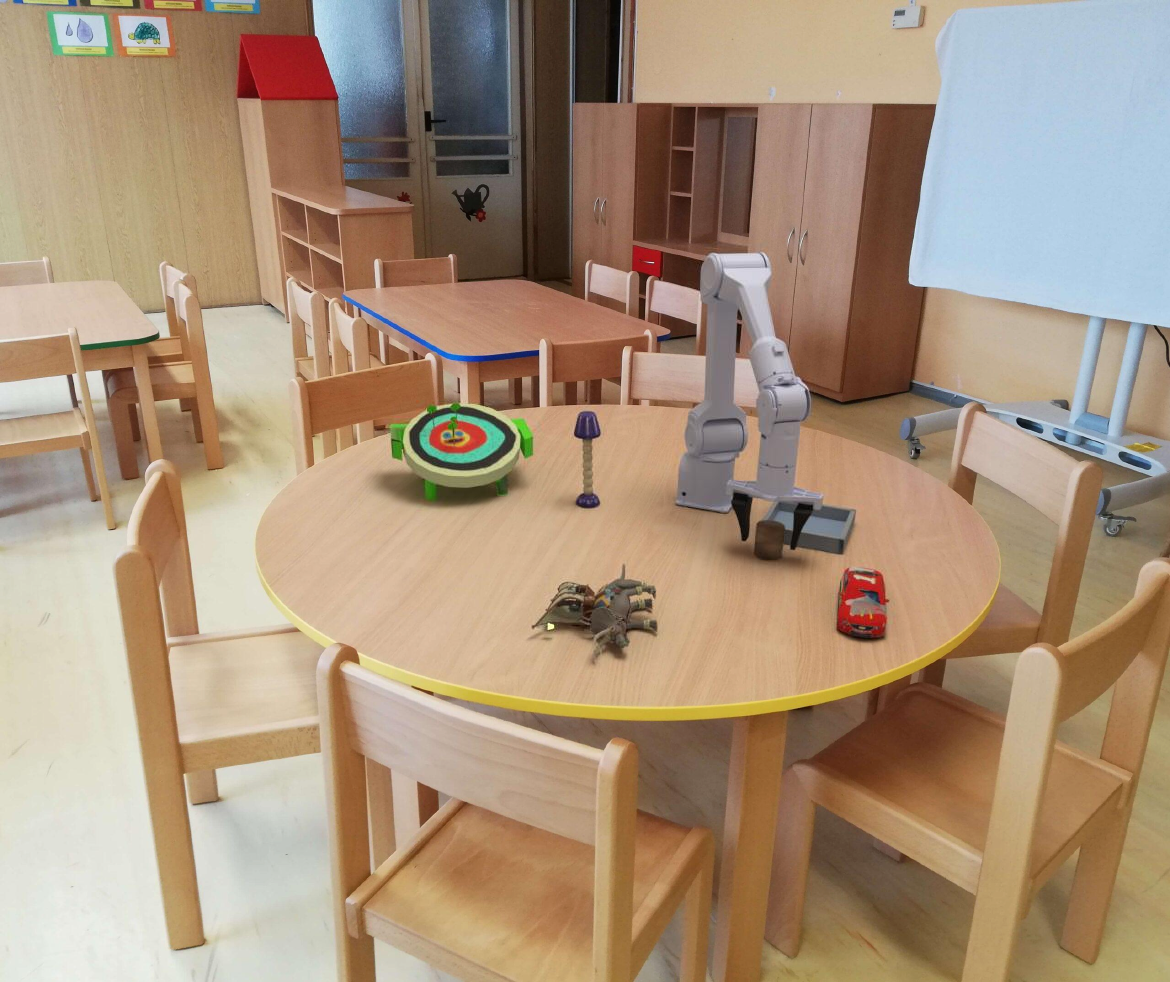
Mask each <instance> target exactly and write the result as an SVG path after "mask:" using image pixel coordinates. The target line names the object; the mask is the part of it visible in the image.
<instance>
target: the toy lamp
mask: <svg viewBox="0 0 1170 982" xmlns="http://www.w3.org/2000/svg"><path fill="white" fill-rule="evenodd" d="M601 435H602V432H601V428H600V424H599V420H598V417H597V414H596V412H595V411H592V410H591V411H590V410H584V411H581V412H579V413H578V414H577V418H576V422H575V426H574V431H573V436H574V437H575V438H577V439H579V440H581V441H582V444H583V445H582V452H583V453H582V460H583V461H582V468H583V470H582V476H583V478H582V479H583V480H582V484H583V488H582V489H583V490H582V491H583V493H580V494H579V495H578V496H577V498H576V501H575V505H577V506H578V507H581V508H584V509H592V508H596V507H599V506H600V504H601V501H600V498H599V496H598V495H597V494H595V493H594V488H593V487H594V486H593V484H594V480H593V475H594V472H593V466H594V465H593V461H592V460H593V445H592V444H593V440H595V439H598V438H599V437H600V436H601Z"/></svg>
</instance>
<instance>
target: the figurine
mask: <svg viewBox="0 0 1170 982" xmlns="http://www.w3.org/2000/svg"><path fill="white" fill-rule="evenodd" d="M621 570H622V572H621V576H620V578H617V579H614V580H613V581H612V582H609V583H608V582H607V583H606V584H604V585H603V586H601V588H600V589H599V590H598V591H597V593H595V591H594V590H593V589H592V588H591V587H590V586H589V583H587V585H586V584H580V583H576V582H572V581H565V582H561V584H560V585H558V587H557V591H558V592H557V593H556V594H555V595H554V597H553V598H552V599H550V602H551V603H549V605H548V607H547V608H546V609H545V612H544V613H543V615H542V616H541V617H540V618H539V619H538V620H537V622H536V623H535V624H532V625H531V629H532V630H534V629H535V628H546V631H549V630H553V629H555V628H556V627H557V625H564V626H565V625H566V626H573V627H578V626H583V628H582V631H583V632H584V630H585V628H586V627H585V626H586V625H587V626H590V627H589V629H590V631H591V633H592V634H594V636H593V643H594V645H596V647H595V648H594V650H593V653H592V658H593V662H594V663H595V662H596V661H597V660H599V659H600V658H601V657H602V655H603V654H602V653H603V652H602V650H601V648H602V647H603V646H604V645H605V644H606V643H607V642H609V643H610V644H614V643H615V644H616V645H617V646H618V647H619V648H622V649H623V648H626V647H628V646H629V645H630V639H629V637H628V635H627V632H626V631H627V630H630V629H641V628H644V629H647V630H649V629H652V630H654V631H655V633H659V632H658V630H659V629H658V628H659V626H658V621H657V619H649V618H647V619H646V620H643V621H640V620H639V621H638V620H637V621H635V620H634V621H633V620H630V619H631V613H632V612H633V611H635V610H637V609H638V610H642V609H645V608H647V609H650V610H651V611H653V610H654V609H653V607H654V602H653V601H654V599H655V600H656V597H657V589H656V587H655V584H653V585H649V583H648V581H645V580H644V581H643V580H642V581H639V580H635V579H632V578H631V579H629V578H628V579H627V578H626V565H625V563H623V564H622V567H621ZM643 593H647V594H648V595H652V597H653V598H652V597H650V598H645V599H644V598H638V599H637V600H636V601H632V602H631V598H630V597H633V596H641V595H643ZM599 638H603V639H601V640H600V641H599V643H598V642H597V640H598V639H599ZM598 652H600V655H599V657H597V653H598Z"/></svg>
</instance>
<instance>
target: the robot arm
mask: <svg viewBox="0 0 1170 982" xmlns="http://www.w3.org/2000/svg"><path fill="white" fill-rule="evenodd" d="M770 261H771V260H770V259H769V258H768V256H767V254H766V253H764V252H762V251H760V252H759V251H758V252H754V253H753V252H752V253H751V252H750V253H749V252H747V253H745V252H744V253H742V252H741V253H715V252H711V253H709V254H708V255H707V256H706V258H705V259H704V261H703V263H702V265H701V269H700V282H699V283H700V286H699V288H700V289H699V293H700V302H702V303H704V304H706V306H707V309H706V311H707V312H706V336H705V337H706V338H705V339H706V341H705V342H706V343H705V368H704V370H705V372H704V374H705V375H704V376H705V378H704V398H703V400H702V401H701V402H699V403H698V404H696V405H695V406H694V407H693V408H691V409H690V410H689V411H688V415H687V420H686V421H687V423H686V426H685V429H684V442H685V443H684V444H685V447H686V451H684V452H683V454H682V455H681V457H680V461H679V467H678V475H677V476H678V477H677V493H676V501H675V505H679V506H682V507H683V506H684V507H688V508H689V507H690V508H695V509H701V510H702V509H703V510H706V511H712V512H718V513H725V514H726V513H728V512H730V510H731V508H732V510H733V512H734V514H735V516H736V518H737V521H738V526H739V530H740V537H741V540H740V541H741V542H746V541H747V540H748V538H749V537H750V529H751V528H750V527H751V511H752V505H753V499H760V500H762V501H765V502H769V503H770V502H771V503H773V502H776V501H777V502H783V503H789V504H795V505H798V506H797V507H796V509H795V510H794V518H793V533H792V539H791V544H790V545H789V546H790V547H789V550H790V551H796V549H797V547H798V546H797V543H798V539H799V536H800V533H801V531H802V529H803V527H804V525H805V523H806V522H807V520H808V519H809V517H810V516H811V514H812V512H813V510H814V509H816V510H820V509H821V507H822V504H823V501H824V493H818V492H814V491H809V490H807V489H803V488H801V487H797V486H795V479H796V470H797V462H798V453H799V446H800V435H801V427H802V422H804V421H806V420H807V419H808V418H809V416H810V413H811V409H812V398H811V393H810V389H809V387H808V386H807V385H806V384H805V382H803V381H802V379H801V378H800V377H799V376H796V374H795V371H794V367H793V364H792V361H791V357H790V354H789V350H788V348H787V345H786V343H785V341H783V340H781V339H780V338H777V337H776V331H775V327H774V322H773V316H772V313H771V308H770V302H769V299H768V292H769V289H770V285H771V282H772V265H771V262H770ZM738 312H739V313H740V314H741V317H742V320H743V322H744V325H745V327H746V330H747V333H748V334H749V338H750V340H751V342H752V347H751V349H750V350H749V353H748V357H749V361H750V364H751V368H752V372H753V375H754V378H755V381H756V385H757V388H758V392H759V393H758V396H757V398H756V399H755V400H756V401H755V407H756V412H757V413H756V414H757V420H758V422H757V428H758V432H760V439H759V448H758V459H757V460H758V462H757V469H756V470H757V471H756V480H754V481H753V480H739V479H738V480H736V479H735V477H734V475H735V467H736V466H735V465H736V459H738V458H740V453H742V452H743V451H744V450H745V449H746V447H747V445H748V442H749V441H748V439H749V431H748V427H747V415H746V414H747V413H746V412H745V411H744V410H743V408H741V407H740V406H739V405H738V404H737V403H735V402H734V398H735V397H734V396H735V395H734V394H735V378H736V377H735V376H736V375H735V374H736V372H735V371H736V351H737V349H736V348H737V347H736V346H737V332H738V331H737V329H738V325H737V323H738Z"/></svg>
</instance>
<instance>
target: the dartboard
mask: <svg viewBox="0 0 1170 982" xmlns="http://www.w3.org/2000/svg"><path fill="white" fill-rule="evenodd" d="M389 430H390V443H391V444H390V445H391V458H392V459H396V460H399V461H403V457H404V460H405V461H406V462H405V463H406V465H407V466H408V467H409V468H410V469H411V470H412V471H413V472H414V474H415V475H417V476H419V477H421V478H422V480H423V482H424V492H425V493H424V496H425V497H424V498H425V500H427V501H434V500H437V499H438V489H437V486H438V485H440V486H443V487H448V488H462V489H463V488H465V489H466V488H474V487H479V486H480V487H481V486H486V485H488V484H491V483H493V482H494V483H495V482H496V485H495V487H496V488H495V489H496V495H497V496H499V497H506V496H507V495H509V494H508V491H509V490H508V489H509V487H508V486H509V484H508V483H509V482H508V474H509V473H510V472H511V471H512V470H513V469H514V468H515V466H516V464H517V463H518V461H519V458H520V452H521V453H522V455H523V457H524V459H525V460H526V459H528V458H530V457H533V456H534V435H533V433H532V431H531V429H530V428H529V426H528V423H527V421H526V420H525V419H524V418H509V417H508V416H507V415H506V414H504V413H502V412H500V411H497V410H496V409H494V408H492V407H488V406H484V405H479V404H477V403H461V402H460V403H459V402H456V401H455V402H454V403H447V404H439V405H437V406H436V405H434V404H433V403H431V405H428V407H427V408H426V410H423V411H422V412H420V413H419V414H418V415H417V416H415V417H413V418H412V419H411V420H410V422H409V423H393V424H391V423H390V424H389Z"/></svg>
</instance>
